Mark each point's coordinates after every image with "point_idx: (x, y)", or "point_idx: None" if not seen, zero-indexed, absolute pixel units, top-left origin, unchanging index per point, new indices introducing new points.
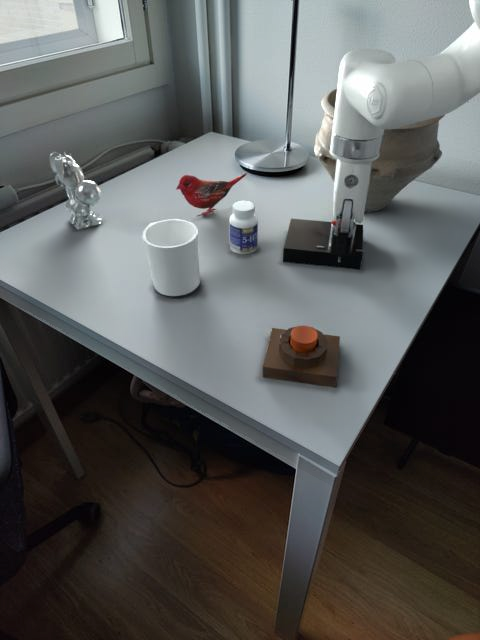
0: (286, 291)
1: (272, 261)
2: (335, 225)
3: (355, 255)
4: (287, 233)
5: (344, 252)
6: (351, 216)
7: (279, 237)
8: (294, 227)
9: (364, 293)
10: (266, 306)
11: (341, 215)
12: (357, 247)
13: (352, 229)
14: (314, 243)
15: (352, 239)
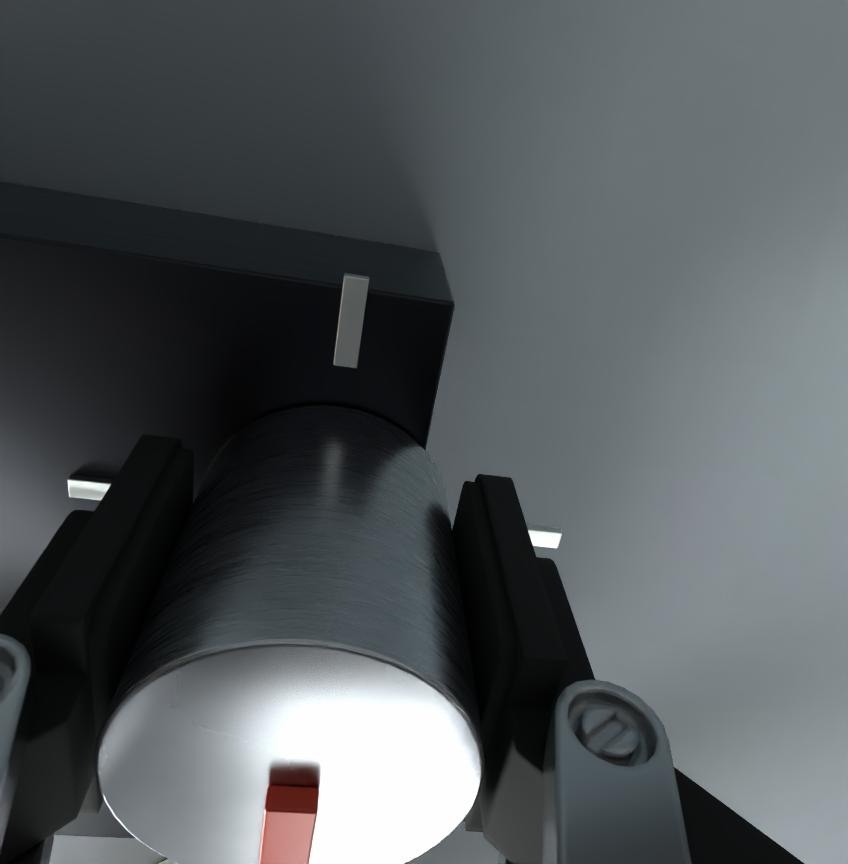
0: None
1: None
2: (342, 856)
3: (439, 378)
4: (124, 837)
5: (548, 559)
6: (27, 706)
7: None
8: None
9: (785, 265)
10: (761, 785)
11: (46, 823)
12: (275, 339)
13: (450, 692)
14: None
15: (414, 537)
